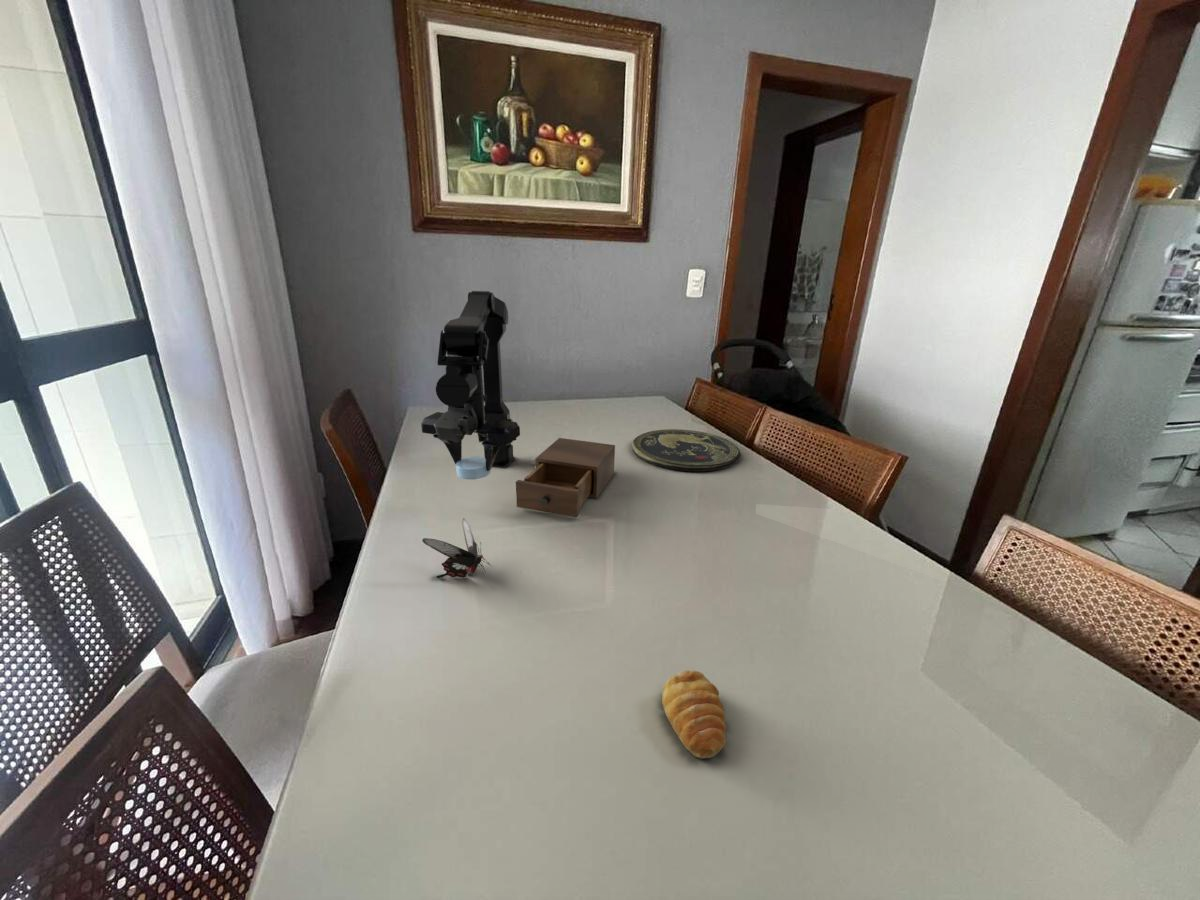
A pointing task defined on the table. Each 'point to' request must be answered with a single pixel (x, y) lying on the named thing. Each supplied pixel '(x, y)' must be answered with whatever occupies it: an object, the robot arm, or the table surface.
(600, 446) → the cabinet
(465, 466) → the light blue disc
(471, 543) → the butterfly
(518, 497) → the drawer
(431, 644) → the table surface
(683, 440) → the decorative plate
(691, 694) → the pastry
